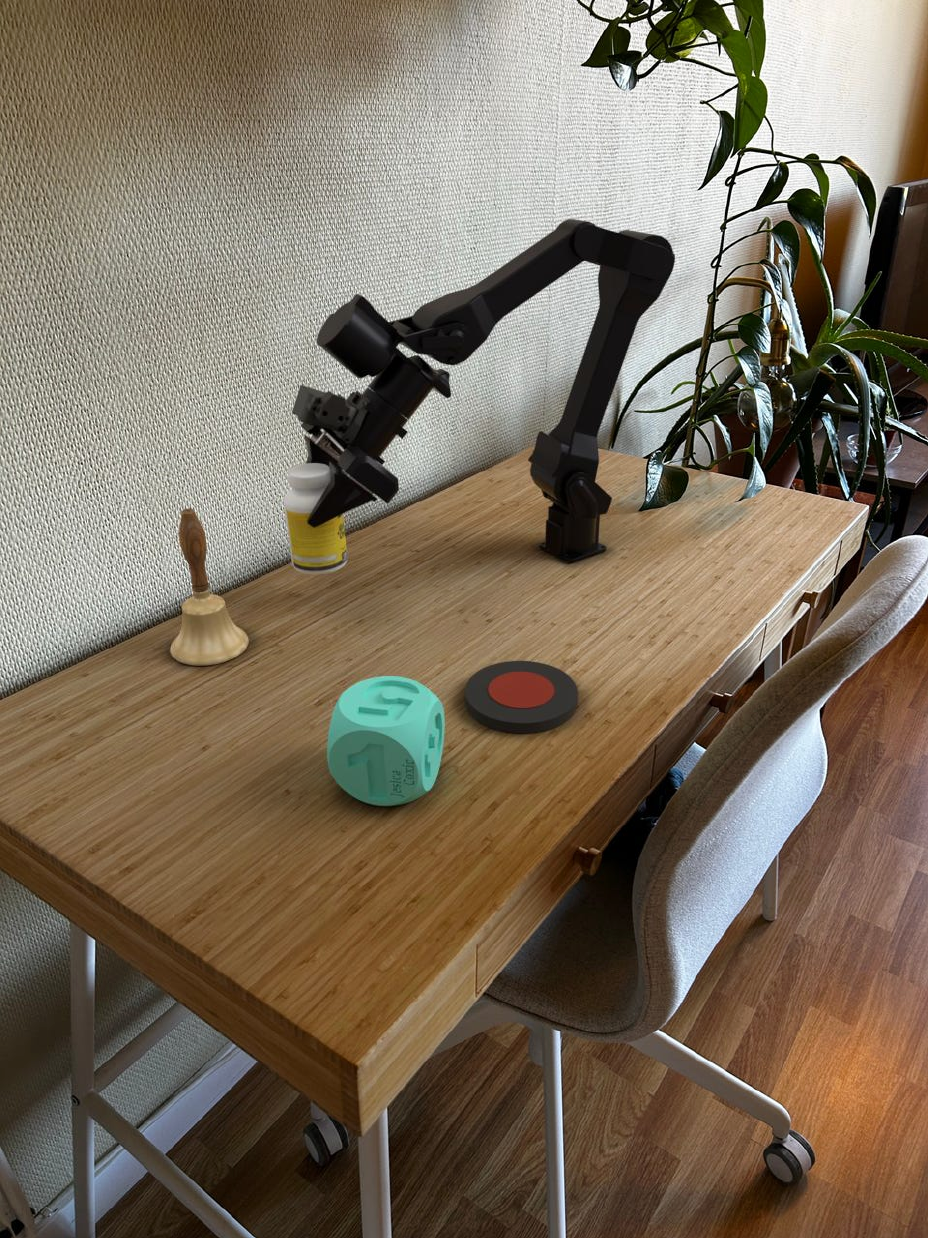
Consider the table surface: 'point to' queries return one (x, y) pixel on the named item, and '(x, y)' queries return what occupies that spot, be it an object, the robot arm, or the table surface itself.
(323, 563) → the pill bottle
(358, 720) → the decorative dice
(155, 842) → the table surface
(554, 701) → the disc
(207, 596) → the hand bell
